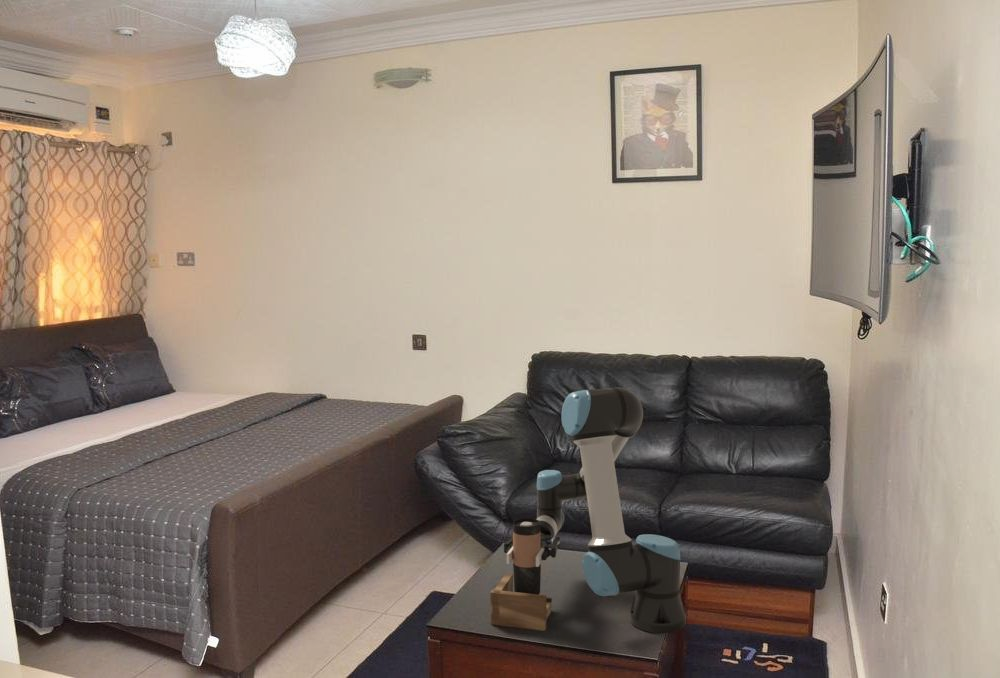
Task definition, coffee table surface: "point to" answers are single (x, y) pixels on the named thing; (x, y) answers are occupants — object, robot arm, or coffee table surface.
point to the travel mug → (526, 555)
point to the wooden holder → (518, 607)
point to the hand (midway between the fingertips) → (522, 560)
